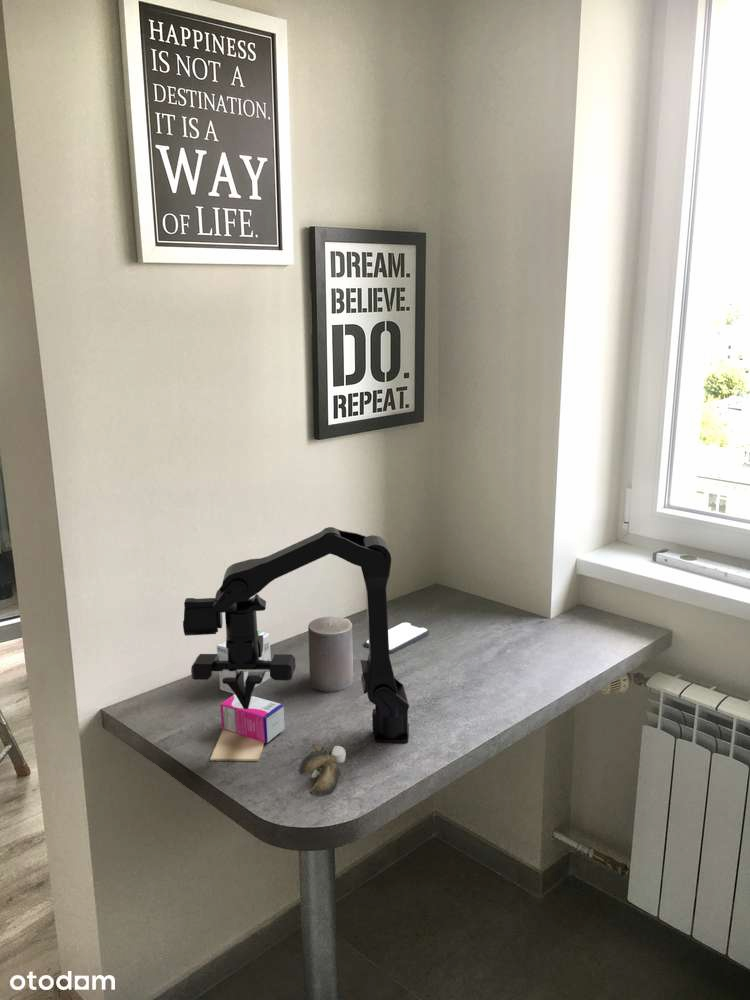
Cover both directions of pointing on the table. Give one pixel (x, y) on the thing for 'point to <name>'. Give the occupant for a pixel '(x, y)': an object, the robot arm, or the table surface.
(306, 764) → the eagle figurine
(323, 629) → the pillar candle
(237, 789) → the table surface
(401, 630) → the phone case
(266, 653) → the light bulb box
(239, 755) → the pale gold metal plate
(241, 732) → the supplement box
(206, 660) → the robot arm
